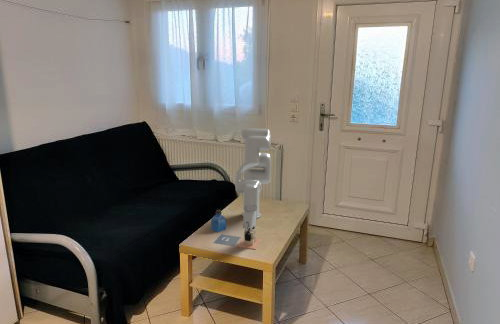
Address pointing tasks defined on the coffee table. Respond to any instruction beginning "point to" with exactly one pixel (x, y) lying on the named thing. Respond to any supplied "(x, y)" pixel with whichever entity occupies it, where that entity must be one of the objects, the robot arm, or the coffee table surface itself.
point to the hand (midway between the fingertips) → (249, 237)
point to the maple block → (253, 237)
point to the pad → (249, 245)
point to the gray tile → (227, 240)
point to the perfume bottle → (218, 222)
